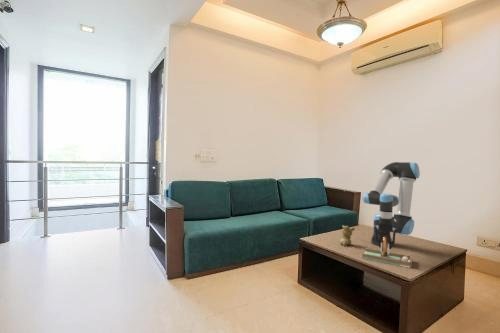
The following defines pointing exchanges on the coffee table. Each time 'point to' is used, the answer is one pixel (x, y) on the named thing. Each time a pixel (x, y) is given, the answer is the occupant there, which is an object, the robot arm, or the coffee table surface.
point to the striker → (384, 248)
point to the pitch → (393, 259)
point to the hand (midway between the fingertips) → (384, 253)
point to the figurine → (346, 236)
